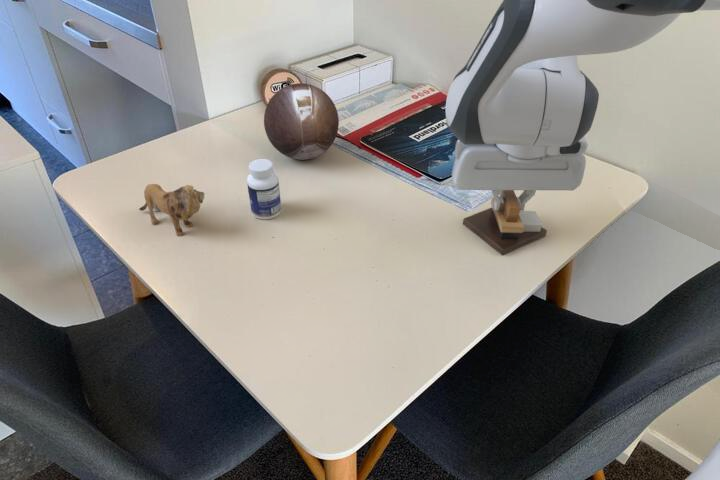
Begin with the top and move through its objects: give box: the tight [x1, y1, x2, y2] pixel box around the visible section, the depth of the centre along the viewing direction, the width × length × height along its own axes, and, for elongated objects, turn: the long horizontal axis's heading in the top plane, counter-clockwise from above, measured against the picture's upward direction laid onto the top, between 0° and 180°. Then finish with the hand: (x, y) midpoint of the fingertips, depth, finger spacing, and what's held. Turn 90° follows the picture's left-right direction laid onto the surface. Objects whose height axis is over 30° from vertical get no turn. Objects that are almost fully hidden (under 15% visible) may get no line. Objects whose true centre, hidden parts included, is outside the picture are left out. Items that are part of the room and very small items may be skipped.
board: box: [462, 207, 548, 256], centre depth 90 cm, size 10×10×1 cm
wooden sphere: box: [263, 82, 340, 161], centre depth 106 cm, size 15×15×15 cm
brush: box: [490, 190, 524, 239], centre depth 88 cm, size 8×4×6 cm, turn 0°
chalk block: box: [519, 210, 543, 232], centre depth 89 cm, size 4×4×2 cm
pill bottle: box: [246, 158, 282, 220], centre depth 91 cm, size 5×5×10 cm
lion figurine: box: [138, 183, 205, 237], centre depth 88 cm, size 15×5×9 cm, turn 65°
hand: (508, 208), depth 88 cm, fingers closed on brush, 2 cm apart
